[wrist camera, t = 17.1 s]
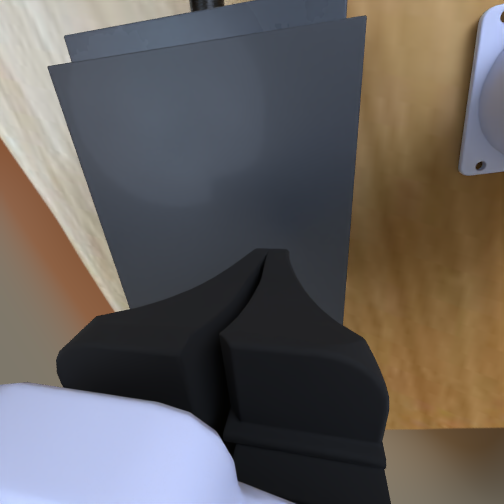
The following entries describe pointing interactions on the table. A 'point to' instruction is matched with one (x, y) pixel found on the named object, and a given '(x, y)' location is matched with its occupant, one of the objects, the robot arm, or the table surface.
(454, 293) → the table surface
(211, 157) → the dark grey cabinet
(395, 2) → the table surface
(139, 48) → the drawer
